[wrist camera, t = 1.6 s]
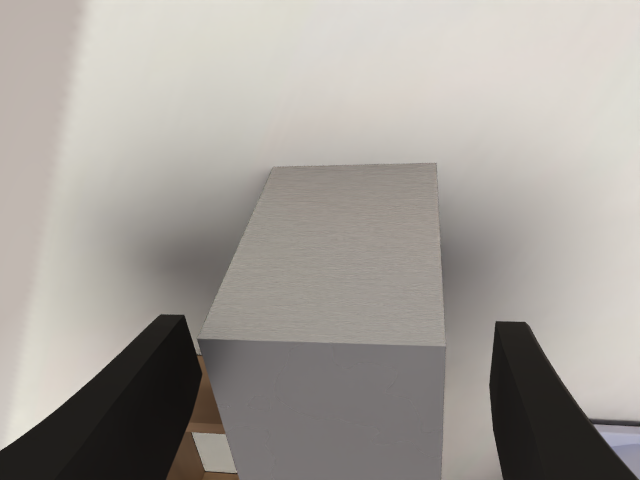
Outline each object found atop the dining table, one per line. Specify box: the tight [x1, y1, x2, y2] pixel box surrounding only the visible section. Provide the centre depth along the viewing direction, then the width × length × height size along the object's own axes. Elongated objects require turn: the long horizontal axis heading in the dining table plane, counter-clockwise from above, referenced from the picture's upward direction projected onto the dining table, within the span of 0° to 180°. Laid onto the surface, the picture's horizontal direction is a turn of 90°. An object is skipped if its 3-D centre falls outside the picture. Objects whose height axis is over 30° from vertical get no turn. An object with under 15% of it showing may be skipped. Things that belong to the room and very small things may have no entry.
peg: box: [197, 163, 446, 480], centre depth 15 cm, size 5×5×7 cm
